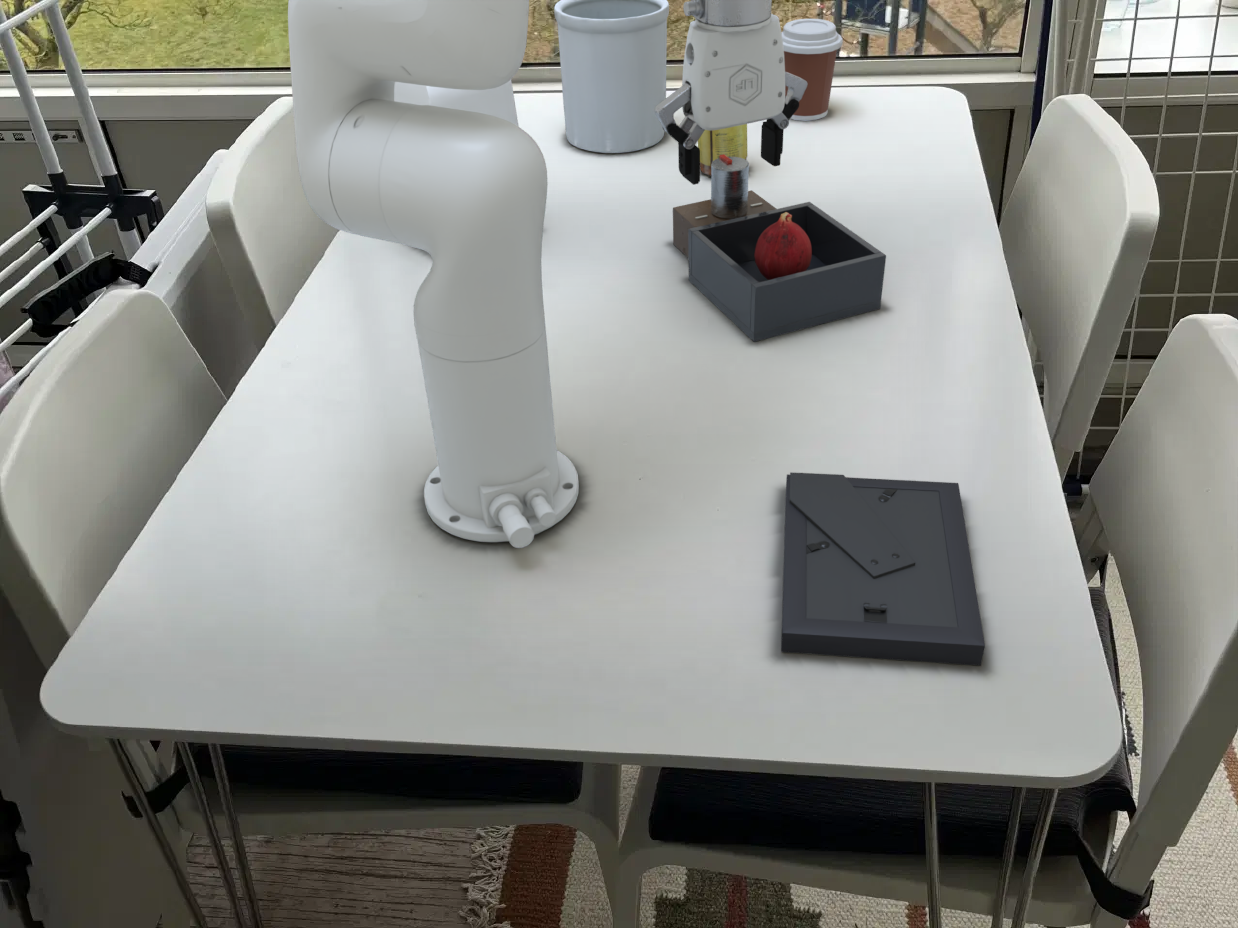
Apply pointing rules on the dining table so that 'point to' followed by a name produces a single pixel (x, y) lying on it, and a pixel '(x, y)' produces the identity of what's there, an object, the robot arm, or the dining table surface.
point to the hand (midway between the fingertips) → (730, 170)
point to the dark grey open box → (768, 308)
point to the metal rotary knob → (729, 187)
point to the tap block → (706, 217)
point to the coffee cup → (811, 62)
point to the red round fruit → (783, 249)
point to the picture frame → (878, 571)
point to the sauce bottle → (722, 145)
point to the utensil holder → (612, 72)
